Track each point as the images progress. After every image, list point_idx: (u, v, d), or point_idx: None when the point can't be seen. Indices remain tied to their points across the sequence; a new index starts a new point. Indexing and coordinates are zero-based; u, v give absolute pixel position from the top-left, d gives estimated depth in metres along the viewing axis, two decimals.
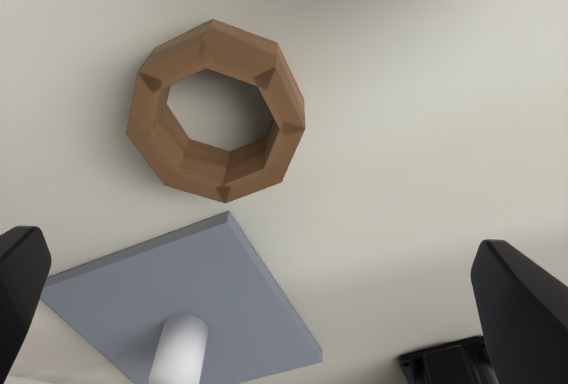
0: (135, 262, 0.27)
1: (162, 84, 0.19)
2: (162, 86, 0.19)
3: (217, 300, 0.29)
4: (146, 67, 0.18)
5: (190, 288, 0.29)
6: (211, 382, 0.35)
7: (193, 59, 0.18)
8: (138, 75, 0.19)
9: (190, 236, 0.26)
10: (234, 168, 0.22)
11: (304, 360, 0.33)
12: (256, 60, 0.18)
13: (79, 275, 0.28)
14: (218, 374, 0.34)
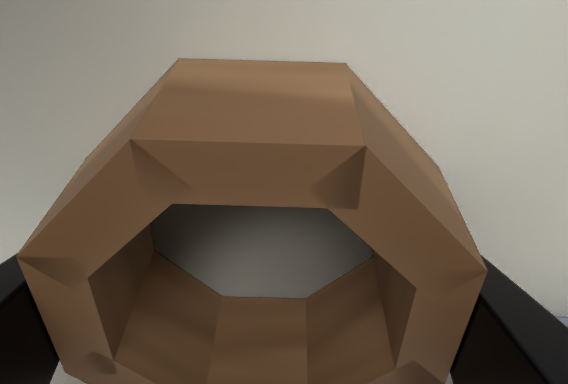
0: None
1: (103, 354, 0.08)
2: (107, 356, 0.08)
3: None
4: (62, 356, 0.09)
5: None
6: None
7: (59, 288, 0.07)
8: (73, 374, 0.09)
9: None
10: (389, 305, 0.09)
11: None
12: (98, 173, 0.06)
13: None
14: None
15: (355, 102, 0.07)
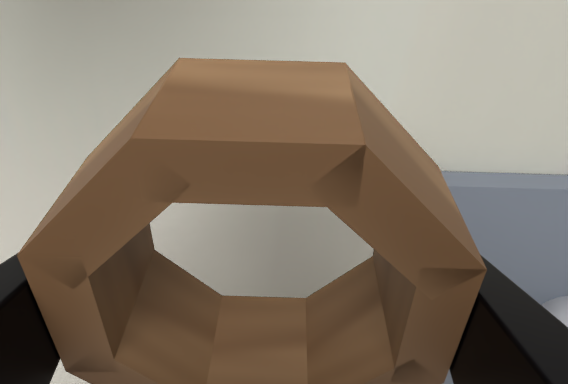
0: None
1: (104, 352, 0.08)
2: (108, 354, 0.08)
3: (552, 263, 0.19)
4: None
5: None
6: None
7: (59, 287, 0.07)
8: (73, 372, 0.09)
9: None
10: (389, 304, 0.09)
11: None
12: (98, 171, 0.06)
13: None
14: None
15: (355, 101, 0.07)
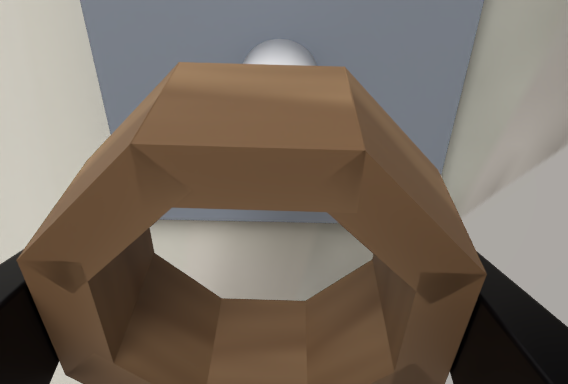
0: (107, 62, 0.17)
1: (104, 356, 0.08)
2: (107, 358, 0.08)
3: None
4: None
5: (188, 13, 0.16)
6: (432, 119, 0.18)
7: (59, 291, 0.07)
8: (73, 376, 0.09)
9: None
10: (388, 307, 0.09)
11: None
12: (98, 177, 0.06)
13: None
14: (419, 95, 0.18)
15: (354, 106, 0.07)
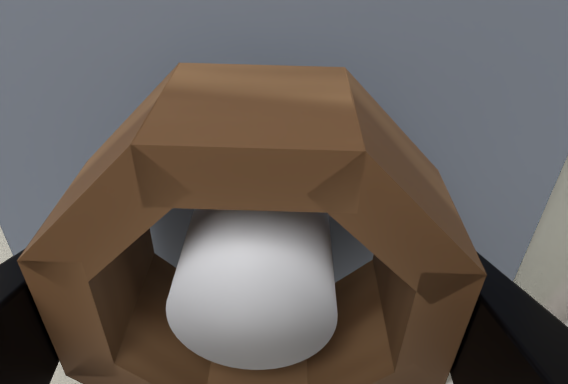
0: None
1: (104, 356, 0.08)
2: (108, 359, 0.08)
3: (184, 52, 0.09)
4: None
5: (114, 96, 0.10)
6: (494, 244, 0.12)
7: (60, 292, 0.07)
8: (74, 376, 0.09)
9: None
10: (388, 308, 0.09)
11: None
12: (99, 177, 0.06)
13: None
14: (478, 214, 0.12)
15: (355, 107, 0.07)
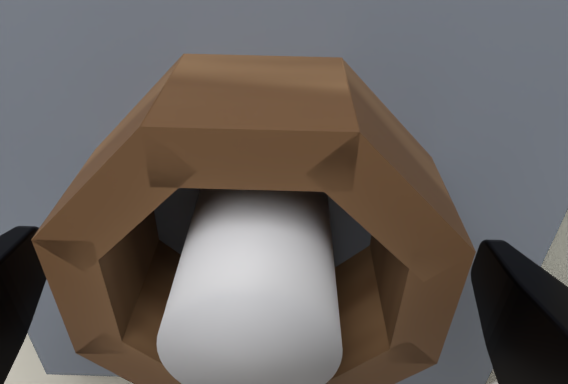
0: None
1: (112, 334, 0.09)
2: (116, 336, 0.09)
3: None
4: None
5: (103, 109, 0.09)
6: None
7: (71, 270, 0.08)
8: (83, 355, 0.09)
9: None
10: (384, 289, 0.10)
11: None
12: (109, 158, 0.07)
13: None
14: (489, 232, 0.11)
15: (350, 93, 0.07)
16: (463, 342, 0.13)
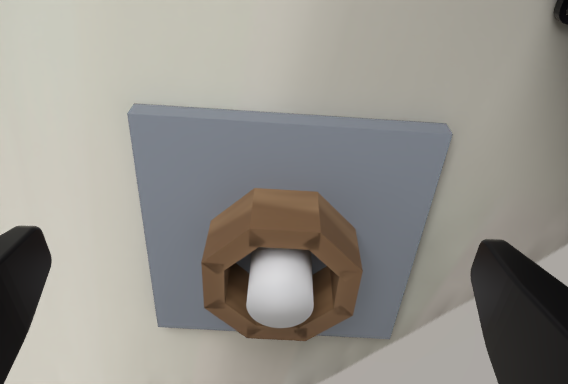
0: (154, 231, 0.23)
1: (221, 300, 0.22)
2: (223, 301, 0.22)
3: None
4: (204, 301, 0.22)
5: (217, 206, 0.22)
6: (392, 274, 0.25)
7: (212, 274, 0.21)
8: (206, 308, 0.22)
9: (137, 161, 0.21)
10: (333, 284, 0.23)
11: (431, 155, 0.21)
12: (236, 237, 0.20)
13: None
14: (383, 260, 0.24)
15: (319, 213, 0.21)
16: (376, 313, 0.27)
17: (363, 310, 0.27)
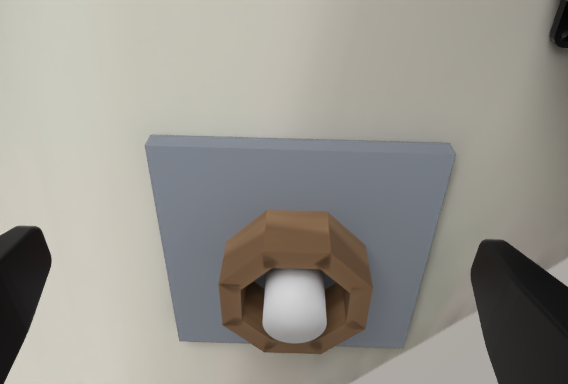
0: (173, 252, 0.25)
1: (238, 317, 0.23)
2: (240, 318, 0.23)
3: None
4: (222, 318, 0.23)
5: (232, 227, 0.24)
6: (403, 287, 0.26)
7: (229, 293, 0.22)
8: (225, 325, 0.23)
9: (155, 189, 0.22)
10: (345, 299, 0.24)
11: (436, 174, 0.21)
12: (251, 259, 0.21)
13: (172, 300, 0.27)
14: (394, 273, 0.25)
15: (329, 233, 0.21)
16: (389, 324, 0.28)
17: (376, 321, 0.27)
